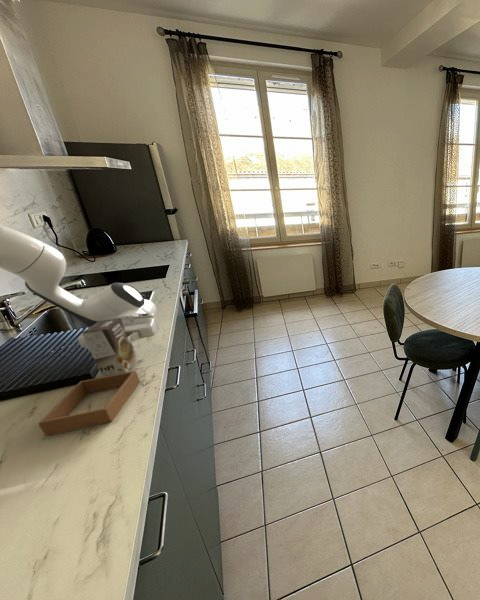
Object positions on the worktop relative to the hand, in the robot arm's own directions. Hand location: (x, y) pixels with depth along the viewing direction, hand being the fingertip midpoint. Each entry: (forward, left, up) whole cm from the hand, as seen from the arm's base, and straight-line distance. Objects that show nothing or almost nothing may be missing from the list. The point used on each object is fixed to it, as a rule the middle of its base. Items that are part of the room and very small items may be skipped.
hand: (108, 344), depth 100 cm
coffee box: (0, +1, -10) cm, 10 cm away
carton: (+2, -18, -10) cm, 21 cm away
